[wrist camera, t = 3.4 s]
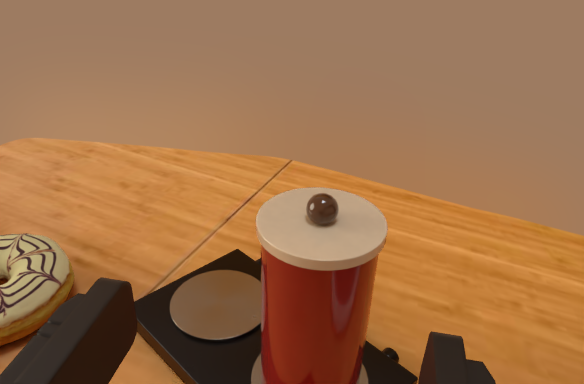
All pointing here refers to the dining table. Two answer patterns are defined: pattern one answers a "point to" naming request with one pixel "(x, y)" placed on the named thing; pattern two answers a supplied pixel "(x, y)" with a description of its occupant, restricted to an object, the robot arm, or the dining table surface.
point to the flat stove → (227, 327)
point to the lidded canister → (316, 284)
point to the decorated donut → (30, 283)
